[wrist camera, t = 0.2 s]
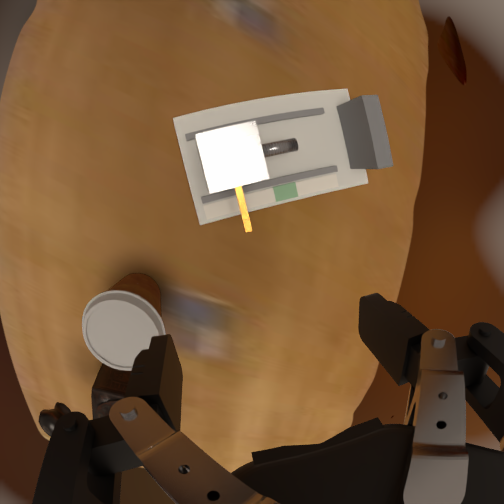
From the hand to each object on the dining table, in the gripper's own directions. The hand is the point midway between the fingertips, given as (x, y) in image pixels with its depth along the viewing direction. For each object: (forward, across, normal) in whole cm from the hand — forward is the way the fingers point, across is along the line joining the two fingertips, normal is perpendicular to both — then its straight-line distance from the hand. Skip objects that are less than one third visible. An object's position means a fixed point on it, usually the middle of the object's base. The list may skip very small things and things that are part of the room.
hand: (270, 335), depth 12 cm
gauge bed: (+29, -8, -7) cm, 31 cm away
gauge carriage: (+27, -4, -5) cm, 28 cm away
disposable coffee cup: (+28, +14, +9) cm, 32 cm away
